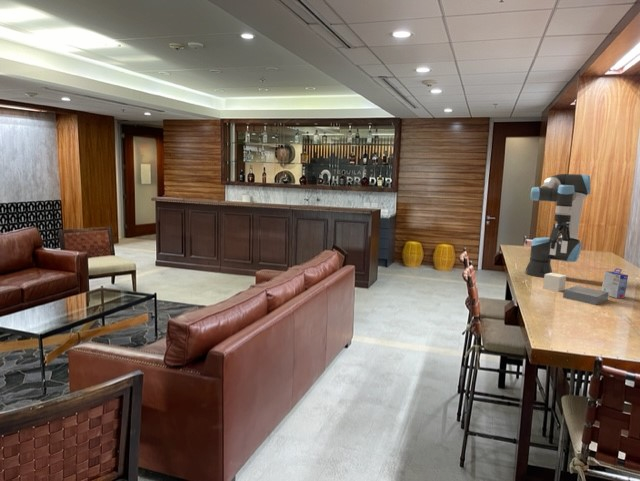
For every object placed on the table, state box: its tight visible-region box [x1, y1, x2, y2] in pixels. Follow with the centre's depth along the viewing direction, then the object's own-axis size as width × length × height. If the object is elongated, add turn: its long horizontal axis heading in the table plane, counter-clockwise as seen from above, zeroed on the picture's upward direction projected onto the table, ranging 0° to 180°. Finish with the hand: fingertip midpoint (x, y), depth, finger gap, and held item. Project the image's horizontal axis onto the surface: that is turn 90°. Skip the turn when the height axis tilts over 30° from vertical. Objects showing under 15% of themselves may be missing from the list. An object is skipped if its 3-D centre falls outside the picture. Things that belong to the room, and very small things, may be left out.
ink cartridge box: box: [600, 267, 629, 299], centre depth 236 cm, size 10×6×14 cm, turn 15°
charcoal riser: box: [562, 285, 609, 306], centre depth 228 cm, size 16×15×4 cm
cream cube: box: [542, 272, 567, 292], centre depth 246 cm, size 8×8×8 cm
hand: (558, 253), depth 243 cm, fingers open, 13 cm apart
